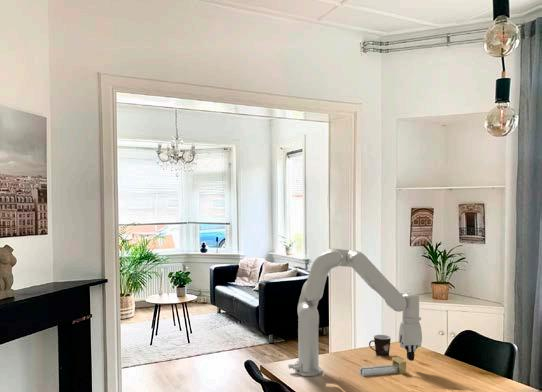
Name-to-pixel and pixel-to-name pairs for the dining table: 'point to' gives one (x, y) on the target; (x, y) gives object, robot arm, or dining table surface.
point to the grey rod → (377, 367)
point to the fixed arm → (380, 371)
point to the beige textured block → (400, 364)
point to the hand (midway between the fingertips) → (410, 359)
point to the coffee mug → (381, 345)
